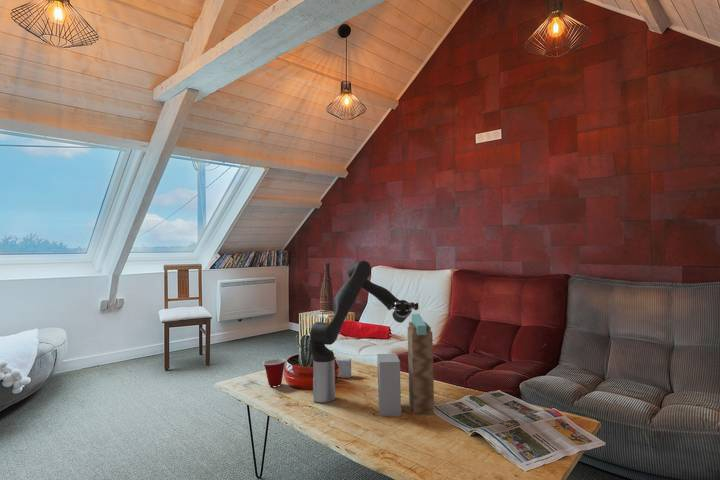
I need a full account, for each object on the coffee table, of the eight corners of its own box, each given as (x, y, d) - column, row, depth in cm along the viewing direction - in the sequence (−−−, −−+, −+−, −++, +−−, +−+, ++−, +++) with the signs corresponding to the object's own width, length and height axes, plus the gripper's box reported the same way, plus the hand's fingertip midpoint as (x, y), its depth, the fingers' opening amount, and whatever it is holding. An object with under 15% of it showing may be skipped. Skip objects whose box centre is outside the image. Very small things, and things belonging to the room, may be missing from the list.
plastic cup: (275, 380, 209) (274, 356, 209) (290, 384, 203) (290, 359, 203) (258, 386, 200) (257, 361, 200) (274, 390, 194) (273, 364, 194)
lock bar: (417, 335, 160) (417, 325, 160) (411, 322, 186) (411, 314, 186) (426, 334, 160) (426, 325, 160) (419, 321, 186) (419, 314, 186)
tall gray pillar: (380, 416, 163) (379, 362, 163) (378, 404, 175) (377, 354, 175) (401, 415, 163) (399, 361, 163) (397, 403, 175) (396, 353, 175)
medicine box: (351, 375, 214) (351, 358, 214) (350, 378, 210) (350, 360, 210) (336, 375, 215) (336, 358, 215) (335, 377, 211) (334, 360, 211)
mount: (413, 415, 163) (411, 328, 164) (409, 403, 175) (407, 322, 176) (434, 414, 164) (432, 327, 164) (428, 402, 176) (426, 321, 176)
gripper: (387, 301, 204) (386, 296, 188) (417, 301, 203) (418, 296, 187) (387, 316, 202) (387, 313, 186) (417, 316, 200) (419, 313, 185)
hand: (402, 304), depth 187 cm, fingers open, 8 cm apart
